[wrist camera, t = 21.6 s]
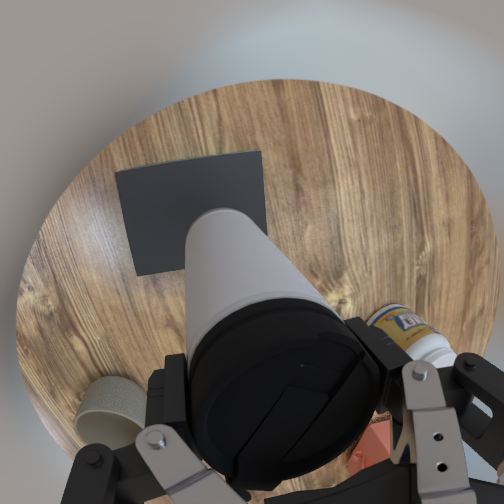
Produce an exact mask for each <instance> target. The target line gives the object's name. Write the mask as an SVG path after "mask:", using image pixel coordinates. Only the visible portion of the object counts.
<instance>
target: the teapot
mask: <svg viewBox="0 0 504 504" xmlns="http://www.w3.org/2000/svg"><path fill="white" fill-rule="evenodd" d="M388 458H390V420H386V421H382V422H378V423H374V424H370V425H369V426H368V427H367V428H366V429H365V430H364V434H363V436H362V438H361V439H360V441H359V443H358V444H357V446H356V448H355V449H354V450H353V452H352V455H351V457H350V459H349V461H348V463H347V468H348V470H349V473H350V475H351V476H353V475H354V474H356V473H357V472H359V471H360V470H362V469H364V468H367V467H369V466H372V465H374V464H376V463H379V462H381V461H383V460H386V459H388Z"/></svg>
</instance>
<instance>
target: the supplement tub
mask: <svg viewBox="0 0 504 504" xmlns="http://www.w3.org/2000/svg"><path fill="white" fill-rule="evenodd" d="M366 324H367V325H368V326H369V325H374V326H376V327H378V328H380V329H382V330H383V331H384V332H385V333H386V334H387V335H388V336H389V338H390V337H391V338H392V339H393V340H394V341H395V343H397V344H398V345H399V346H400V347H401V348H402V349H403V350H404V351H405V352H406V353H407V354H408V355H409V356H410V357H411V358H412V359H413V360H414V361H415V360H423V361H427V362H429V363H431V364H433V365H434V366H435V367H436V368H442V367H448V366H453V364H454V361H455V358H456V357H457V355H456V354H455V353H454V351H453V350H452V349H450V345H449V342H448V341H447V339H446V338H445V337H444V336H443V335H441V334H440V333H438V332H437V331H436V330H435V329H433V328H432V327H431V326H430V325H428V324H427V323H426V322H425V321H423V320H422V319H421V318H419V317H418V316H417V315H416V314H414V313H413V312H412V311H410V310H409V309H408V308H407V307H405V306H402V305H399V304H392V305H388V306H386V307H383V308H382V309H380V310H379V311H377V312H376V313H375V314H374V315H373V316H372V317H371V318H370V319H369V320H368V321H367V323H366Z"/></svg>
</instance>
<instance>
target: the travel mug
mask: <svg viewBox="0 0 504 504" xmlns="http://www.w3.org/2000/svg"><path fill="white" fill-rule="evenodd" d="M185 317H186V352H187V375H188V381H189V386H190V390H191V393H190V398H191V412H192V424H193V435H194V440H195V444H196V448H197V450H198V451H199V453H200V455H201V457H202V458H203V460H204V461H205V462H206V463H207V464H208V465H209V466H210V467H211V468H212V469H214V470H216V471H217V472H219V473H221V474H222V475H225V479H226V483H227V484H228V485H229V486H230V487H231V488H234V489H245V490H259V491H272V490H274V489H275V488H276V487H277V486H278V485H279V484H280V483H281V482H282V481H283V480H288V479H292V478H296V477H299V476H302V475H304V474H307V473H309V472H312V471H314V470H316V469H318V468H320V467H322V466H324V465H325V464H327V463H329V462H330V461H332V460H333V459H335V458H336V457H337V456H339V455H340V454H342V453H343V452H344V451H345V450H346V449H347V448H348V447H349V446H350V445H352V444H353V443H354V441H355V440H356V439H357V438H358V437H359V436H360V434H361V433H362V432H363V431H364V429H365V428H366V426H367V425H368V423H369V421H370V420H371V418H372V416H373V413H374V411H375V409H376V407H377V403H378V399H379V395H380V387H381V377H380V373H379V369H378V365H377V364H376V363H375V362H374V361H373V359H372V358H371V356H370V355H369V354H368V352H367V351H366V350H365V348H364V347H363V346H362V344H361V343H360V342H359V340H358V339H357V338H356V336H355V335H354V334H353V333H352V332H351V331H350V330H349V329H348V327H347V326H346V325H345V323H344V321H343V320H342V318H341V317H340V316H339V315H338V313H337V312H335V311H334V310H333V308H332V307H331V306H330V305H329V303H328V302H327V301H326V300H325V299H324V298H323V297H322V296H321V295H320V294H319V292H318V291H317V290H316V289H315V288H314V287H313V286H312V285H311V284H310V283H309V281H308V280H307V279H306V278H305V277H304V276H303V275H302V274H301V273H300V272H299V271H298V269H297V268H296V267H295V266H294V265H293V264H292V263H291V262H290V261H289V260H288V259H287V257H286V256H285V255H284V254H283V253H282V252H281V251H280V250H279V249H278V248H277V247H276V246H275V245H274V243H273V242H272V241H271V240H270V239H269V238H268V237H267V236H266V235H265V234H264V233H263V232H262V231H261V229H260V228H259V227H258V226H257V225H256V224H255V223H254V222H253V221H252V220H251V219H250V218H249V217H248V216H247V215H245V214H244V213H242V212H241V211H238V210H235V209H232V208H216V209H212V210H209V211H207V212H205V213H203V214H202V215H201V216H199V217H198V218H197V219H196V220H195V221H194V222H193V223H192V225H191V227H190V228H189V231H188V233H187V236H186V243H185Z"/></svg>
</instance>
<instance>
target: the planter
mask: <svg viewBox="0 0 504 504" xmlns="http://www.w3.org/2000/svg"><path fill="white" fill-rule="evenodd" d="M146 402H147V396H146V394H145V393H144V391H143V390H142V389H141V388H140V387H139V386H138V385H137V384H135V383H134V382H132V381H131V380H129V379H126V378H123V377H119V376H104V377H101V378H98V379H97V380H95V381H94V382H93V383H92V384H91V385H90V386H89V388H88V389H87V391H86V393H85V395H84V397H83V399H82V402H81V404H80V406H79V409H78V411H77V414H76V417H75V420H74V430H75V433H76V435H77V436H78V438H79V439H80V440H81V441H82V442H83V443H84V444H85V445H89V444H93V443H100V444H104V445H106V446H108V447H109V448H110V449H111V450H115V449H119V448H122V447H125V446H128V445H130V444H132V443H134V442H135V440H136V437H137V435H138V434H139V433H140V432H141V431H142V430H143V429H144V427H145V415H146Z"/></svg>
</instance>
